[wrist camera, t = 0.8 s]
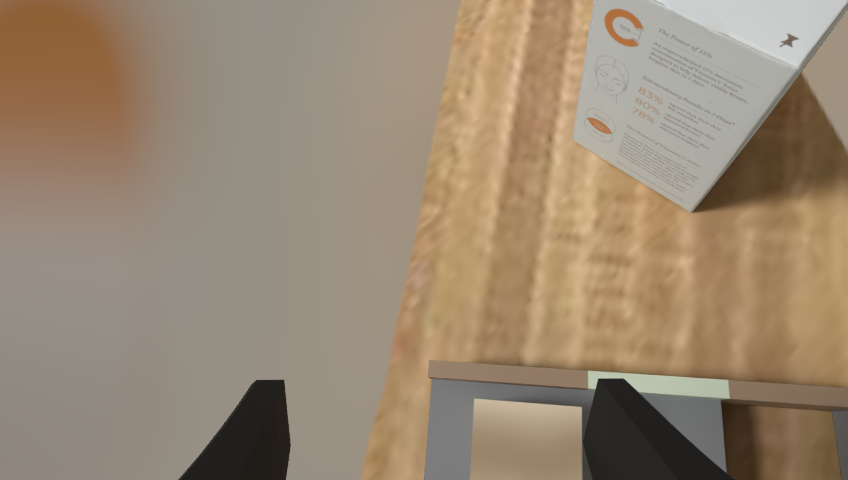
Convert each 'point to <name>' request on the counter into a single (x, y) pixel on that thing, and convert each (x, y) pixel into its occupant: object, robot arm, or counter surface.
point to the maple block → (525, 441)
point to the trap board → (671, 396)
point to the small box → (690, 83)
